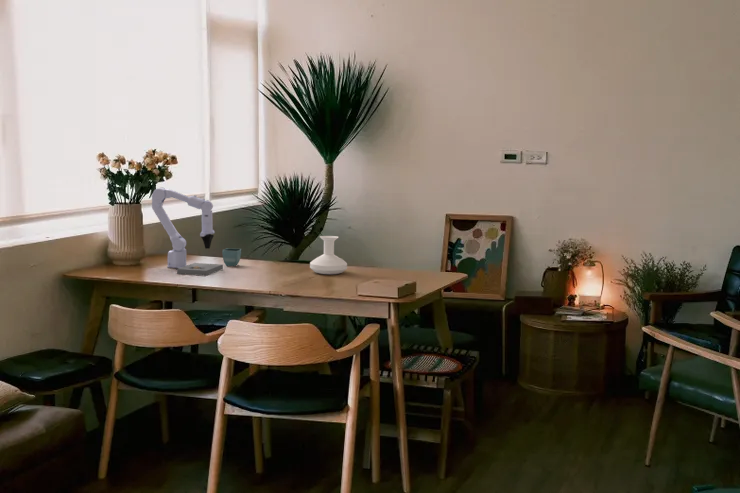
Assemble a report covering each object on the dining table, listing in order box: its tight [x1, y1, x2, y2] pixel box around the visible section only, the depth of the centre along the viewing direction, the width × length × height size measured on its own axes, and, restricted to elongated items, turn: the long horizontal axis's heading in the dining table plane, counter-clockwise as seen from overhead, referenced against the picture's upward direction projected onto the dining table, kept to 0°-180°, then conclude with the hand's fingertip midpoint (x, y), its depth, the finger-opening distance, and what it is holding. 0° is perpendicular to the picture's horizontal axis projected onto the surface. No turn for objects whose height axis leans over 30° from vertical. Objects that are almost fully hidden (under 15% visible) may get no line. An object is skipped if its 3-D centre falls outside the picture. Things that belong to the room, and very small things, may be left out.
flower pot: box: [221, 247, 242, 267], centre depth 447 cm, size 9×9×9 cm
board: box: [176, 262, 224, 276], centre depth 425 cm, size 16×22×2 cm
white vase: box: [309, 235, 348, 275], centre depth 431 cm, size 20×20×19 cm
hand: (207, 248), depth 437 cm, fingers closed
